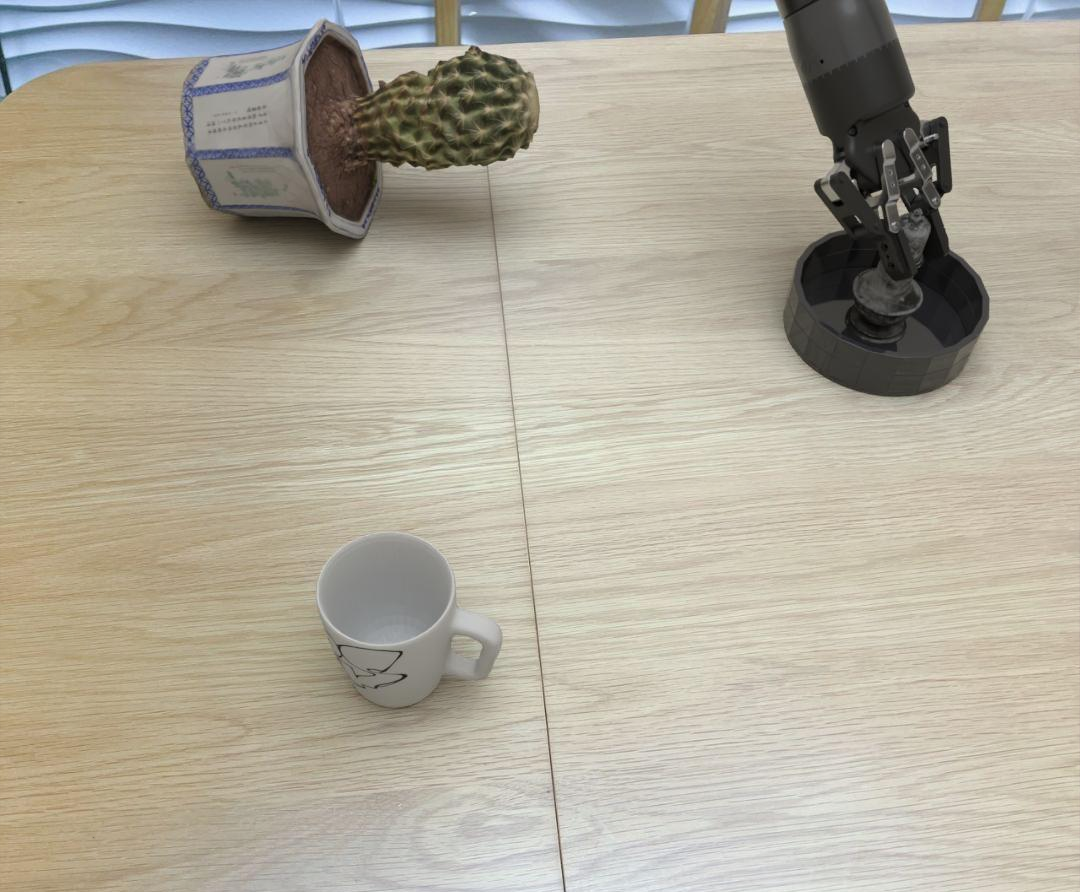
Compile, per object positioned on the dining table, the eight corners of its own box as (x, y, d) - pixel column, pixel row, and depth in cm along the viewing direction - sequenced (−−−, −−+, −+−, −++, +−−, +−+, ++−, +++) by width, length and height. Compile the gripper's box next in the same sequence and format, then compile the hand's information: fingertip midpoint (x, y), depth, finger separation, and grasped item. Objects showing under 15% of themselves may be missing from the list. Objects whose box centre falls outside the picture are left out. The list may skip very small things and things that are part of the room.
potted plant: (130, 112, 86) (499, 57, 79) (200, 5, 97) (528, -51, 90) (224, 291, 99) (547, 258, 92) (276, 179, 110) (567, 141, 103)
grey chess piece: (839, 296, 97) (878, 181, 87) (906, 302, 96) (953, 188, 87) (844, 343, 93) (885, 229, 83) (913, 349, 93) (962, 235, 83)
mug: (516, 638, 76) (518, 555, 68) (485, 747, 71) (483, 672, 63) (358, 604, 77) (342, 518, 69) (316, 708, 72) (294, 630, 64)
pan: (865, 243, 102) (879, 203, 98) (1008, 340, 95) (1029, 301, 91) (744, 316, 96) (754, 276, 92) (888, 426, 88) (904, 387, 85)
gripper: (819, 71, 77) (901, 296, 82) (945, 9, 83) (1014, 224, 87) (751, 104, 84) (830, 311, 88) (871, 45, 89) (940, 243, 94)
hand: (921, 266), depth 88 cm, fingers closed on grey chess piece, 3 cm apart
